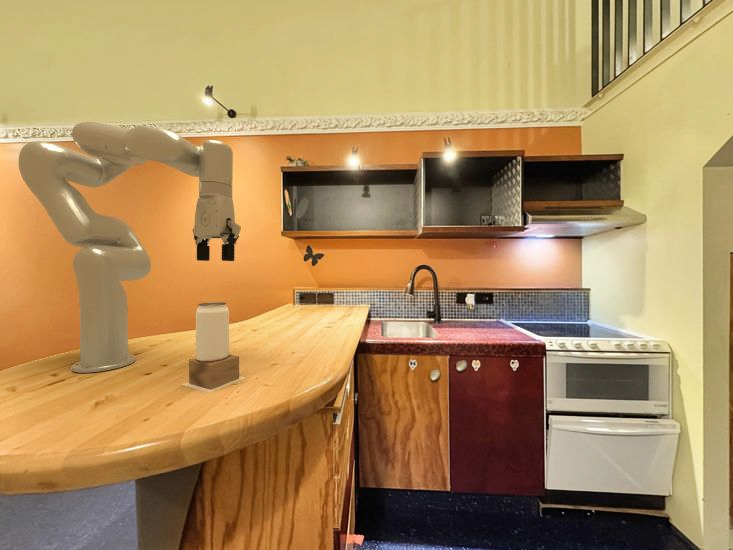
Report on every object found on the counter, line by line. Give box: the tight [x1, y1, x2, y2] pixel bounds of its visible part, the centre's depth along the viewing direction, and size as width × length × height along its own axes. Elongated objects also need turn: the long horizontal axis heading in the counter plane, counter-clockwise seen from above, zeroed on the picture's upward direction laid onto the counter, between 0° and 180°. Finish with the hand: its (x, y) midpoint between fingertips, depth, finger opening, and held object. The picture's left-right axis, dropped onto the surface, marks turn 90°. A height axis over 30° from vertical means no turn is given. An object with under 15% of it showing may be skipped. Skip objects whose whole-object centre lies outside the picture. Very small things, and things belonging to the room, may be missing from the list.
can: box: [195, 301, 230, 362], centre depth 65 cm, size 6×6×12 cm
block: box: [188, 353, 240, 390], centre depth 65 cm, size 7×7×5 cm
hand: (215, 260), depth 75 cm, fingers open, 9 cm apart
